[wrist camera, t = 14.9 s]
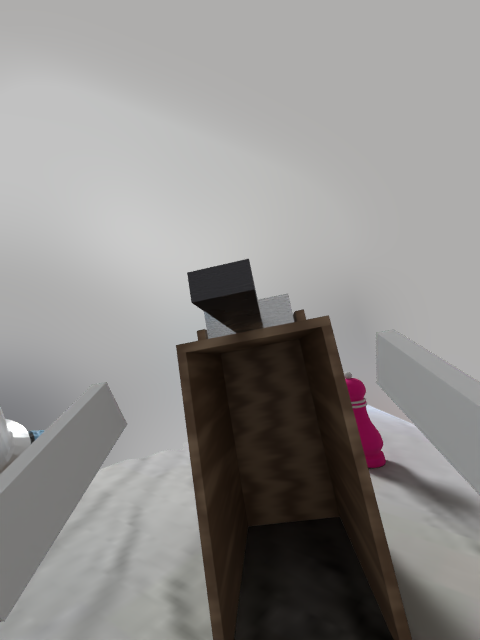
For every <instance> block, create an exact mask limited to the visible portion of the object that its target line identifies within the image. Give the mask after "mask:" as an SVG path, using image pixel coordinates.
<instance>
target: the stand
mask: <svg viewBox="0 0 480 640" xmlns="http://www.w3.org/2000/svg"><path fill="white" fill-rule="evenodd" d="M293 318H294V322H292V323H287V324H282V325H277V326H272V327H267V328H262V329H257V330H251V331H246V332H241V333H236V334H231V335H226V336H221V337H216V338H210V339H208V334H207V330H205V329H203V330H199V331H197V336H198V341H195V342H190V343H185V344H180V345H176V348H177V357H178V363H179V372H180V379H181V388H182V396H183V404H184V412H185V420H186V428H187V435H188V444H189V452H190V460H191V467H192V475H193V483H194V491H195V499H196V507H197V515H198V523H199V531H200V539H201V547H202V555H203V563H204V571H205V578H206V586H207V594H208V602H209V610H210V618H211V626H212V634H213V640H234V636H235V628H236V620H237V612H238V604H239V596H240V588H241V580H242V572H243V564H244V556H245V548H246V540H247V532H248V526H257V525H267V524H276V523H285V522H295V521H304V520H313V519H323V518H332V517H340V518H341V521H342V523H343V525H344V528H345V530H346V532H347V535H348V537H349V539H350V541H351V544H352V546H353V548H354V551H355V553H356V555H357V557H358V560H359V562H360V564H361V567H362V569H363V571H364V574H365V576H366V578H367V580H368V583H369V585H370V587H371V590H372V592H373V594H374V597H375V599H376V601H377V603H378V606H379V608H380V610H381V613H382V615H383V617H384V619H385V622H386V624H387V626H388V629H389V631H390V633H391V636H392V638H393V640H412V638H411V634H410V630H409V626H408V622H407V618H406V614H405V610H404V606H403V602H402V599H401V595H400V591H399V587H398V583H397V579H396V575H395V571H394V567H393V564H392V560H391V556H390V552H389V548H388V544H387V540H386V536H385V532H384V528H383V525H382V521H381V517H380V513H379V509H378V505H377V501H376V497H375V493H374V489H373V486H372V482H371V478H370V474H369V470H368V466H367V462H366V458H365V454H364V451H363V447H362V443H361V439H360V435H359V431H358V427H357V423H356V419H355V415H354V412H353V408H352V404H351V400H350V396H349V392H348V388H347V384H346V380H345V376H344V373H343V369H342V365H341V361H340V357H339V353H338V349H337V346H336V342H335V338H334V334H333V330H332V326H331V322H330V319H329V316H323V317H318V318H313V319H308V320H306V317H305V313H304V310H299V311H295V312H294V314H293Z"/></svg>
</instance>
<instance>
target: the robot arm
mask: <svg viewBox="0 0 480 640" xmlns="http://www.w3.org/2000/svg"><path fill="white" fill-rule="evenodd" d="M376 368H377V369H376V370H377V384H378V385H379V386H380V387H381V388H382V390H383V391H384V392H385V393H386V394H387V395H388V396H389V397H390V398H391V399H392V400H393V402H394V403H395V404H396V405H397V406H398V407H399V408H400V409H401V410H402V411H403V412H404V413H405V415H406V416H407V417H408V418H409V419H410V420H411V421H412V422H413V423H414V424H415V426H416V427H417V428H418V429H419V430H420V431H421V432H422V433H423V434H424V435H425V436H426V438H427V439H428V440H429V441H430V442H431V443H432V444H433V445H434V446H435V447H436V448H437V450H438V451H439V452H440V453H441V454H442V455H443V456H444V457H445V458H446V459H447V460H448V462H449V463H450V464H451V465H452V466H453V467H454V468H455V469H456V470H457V471H458V472H459V474H460V475H461V476H462V477H463V478H464V479H465V480H466V481H467V482H468V483H469V484H470V485H471V487H472V488H473V489H474V490H475V491H476V492H477V493H478V494H479V495H480V382H479V381H477V380H476V379H474V378H473V377H471V376H469V375H468V374H466V373H464V372H463V371H461V370H460V369H458V368H456V367H455V366H453V365H451V364H450V363H448V362H446V361H445V360H443V359H441V358H440V357H438V356H437V355H435V354H433V353H432V352H430V351H428V350H427V349H425V348H423V347H422V346H420V345H418V344H417V343H415V342H413V341H412V340H410V339H408V338H407V337H405V336H404V335H402V334H400V333H399V332H397V331H395V330H388V331H384V332H378V333H376ZM126 425H127V423H126V421H125V419H124V417H123V415H122V413H121V411H120V409H119V407H118V404H117V402H116V401H115V398H114V397H113V395H112V393H111V391H110V388H109V387H108V384H107V382H105V383H99V384H94V385H92V386H91V387H90V388H89V389H87V390H86V391H85V393H83V394H82V395H81V396H80V397H79V398H78V399H77V400H76V401H75V402H74V403H73V404H72V405H71V406H70V407H69V408H68V409H67V410H66V411H65V412H64V413H63V414H62V415H61V416H60V417H59V418H58V419H57V420H56V421H55V422H54V423H52V424H51V425H50V427H48V428H47V429H46V430H45V431H44V430H39V431H34V430H32V431H29V432H27V431H26V429H25V428H24V427H23V426H21V425H20V424H18V423H17V422H14V421H11V420H8V419H5V418H4V415H3V412H2V409H1V406H0V622H2V621H5V620H6V618H7V616H8V615H9V613H10V612H11V610H12V608H13V607H14V605H15V604H16V602H17V600H18V599H19V597H20V596H21V594H22V592H23V591H24V589H25V588H26V586H27V584H28V583H29V581H30V580H31V578H32V576H33V575H34V573H35V572H36V570H37V568H38V567H39V565H40V563H41V562H42V560H43V559H44V557H45V555H46V554H47V552H48V551H49V549H50V547H51V546H52V544H53V543H54V541H55V539H56V538H57V536H58V535H59V533H60V531H61V530H62V528H63V527H64V525H65V523H66V522H67V520H68V519H69V517H70V515H71V514H72V512H73V511H74V509H75V507H76V506H77V504H78V502H79V501H80V499H81V498H82V496H83V494H84V493H85V491H86V490H87V488H88V486H89V485H90V483H91V482H92V480H93V478H94V477H95V475H96V474H97V472H98V470H99V469H100V467H101V466H102V464H103V462H104V461H105V459H106V458H107V456H108V454H109V453H110V451H111V450H112V448H113V446H114V445H115V443H116V441H117V440H118V438H119V437H120V435H121V433H122V432H123V430H124V429H125V427H126Z"/></svg>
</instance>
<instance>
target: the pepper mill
mask: <svg viewBox="0 0 480 640" xmlns="http://www.w3.org/2000/svg"><path fill="white" fill-rule="evenodd" d="M344 376H345V378H346V379H345V380H346V384H347V388H348V392H349V396H350V400H351V404H352V408H353V412H354V415H355V419H356V423H357V427H358V431H359V435H360V439H361V443H362V447H363V451H364V454H365V458H366V462H367V466H368V468H377V467H381V466H383V465H384V464H385V463H386V460H385V457H384V453H383V452H382V451H381V449H382V447H383V440H382V438H381V435H380V433H379V432H378V430H377V429H376V428H375V426H374V425H373V424H372V422H371V420H370V418H369V417H368V414H367V410H366V405H367V403H366V399H365V398H364V395H365V393H366V389H365V386H364V384H363V383H362V382H361V381H360V380H358V379H355V378H351V377H352V374H351V373H350V372H345V373H344Z"/></svg>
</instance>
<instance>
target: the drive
mask: <svg viewBox="0 0 480 640" xmlns="http://www.w3.org/2000/svg"><path fill="white" fill-rule="evenodd" d="M187 274H188V281H189V288H190V295H191V301H192V303H193V304H194V305H196V306H197V307H199V308H200V309H202V310H203V311H204V314H205V320H206V327H207V334H208V339H210V338H216V337H221V336H226V335H231V334H236V333H241V332H246V331H251V330H257V329H262V328H267V327H272V326H277V325H282V324H287V323H292V322H294V318H293V314H292V309H291V305H290V301H289V296H288V294H284V295H279V296H274V297H270V298H264V299H260V300H258V299H257V295H256V290H255V286H254V281H253V276H252V271H251V267H250V262H249V259H246V260H241V261H237V262H232V263H228V264H223V265H219V266H215V267H210V268H206V269H201V270H197V271H193V272H188V273H187Z"/></svg>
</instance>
